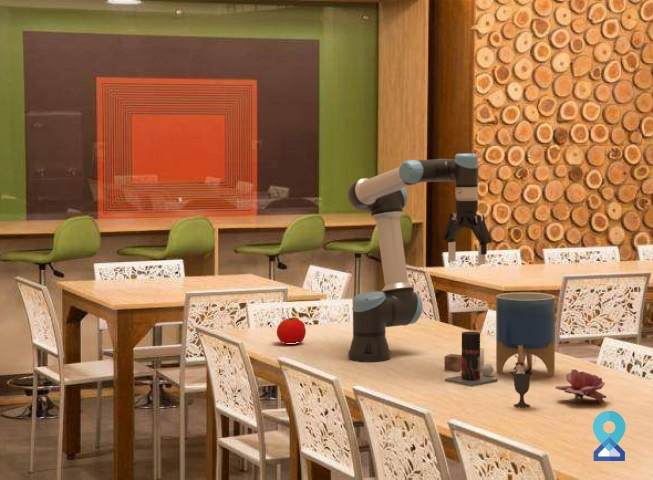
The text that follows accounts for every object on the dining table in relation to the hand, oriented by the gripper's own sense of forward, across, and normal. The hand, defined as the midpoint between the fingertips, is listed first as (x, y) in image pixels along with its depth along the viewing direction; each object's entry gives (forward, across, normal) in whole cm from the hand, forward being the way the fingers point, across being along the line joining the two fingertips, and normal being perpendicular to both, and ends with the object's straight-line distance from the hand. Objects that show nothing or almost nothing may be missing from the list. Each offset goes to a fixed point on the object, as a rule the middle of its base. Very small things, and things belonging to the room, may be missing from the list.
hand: (466, 262), depth 420 cm
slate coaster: (+37, +13, -12) cm, 41 cm away
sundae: (+37, +48, -28) cm, 67 cm away
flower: (+37, +57, -11) cm, 69 cm away
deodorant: (+36, +13, -12) cm, 40 cm away
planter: (+37, +18, +9) cm, 42 cm away
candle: (+37, +4, -1) cm, 37 cm away
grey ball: (+37, +11, -2) cm, 38 cm away
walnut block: (+37, -4, -2) cm, 37 cm away
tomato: (+37, -83, -10) cm, 91 cm away
